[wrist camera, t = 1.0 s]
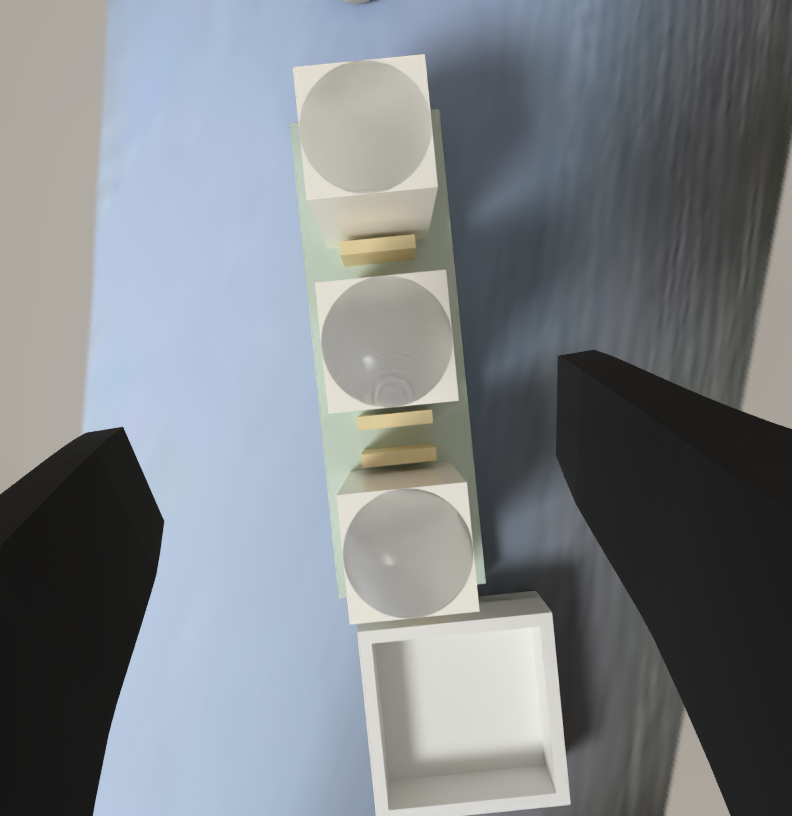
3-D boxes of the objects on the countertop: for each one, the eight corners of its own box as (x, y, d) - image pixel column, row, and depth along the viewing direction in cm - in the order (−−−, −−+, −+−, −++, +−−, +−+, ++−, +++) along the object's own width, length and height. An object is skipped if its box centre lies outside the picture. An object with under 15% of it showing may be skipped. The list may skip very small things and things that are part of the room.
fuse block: (481, 574, 26) (493, 599, 23) (341, 589, 26) (334, 616, 23) (437, 122, 26) (443, 82, 22) (294, 136, 25) (280, 98, 22)
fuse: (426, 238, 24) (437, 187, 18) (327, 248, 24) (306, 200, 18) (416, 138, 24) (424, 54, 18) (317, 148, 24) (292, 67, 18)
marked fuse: (443, 400, 25) (459, 401, 19) (343, 410, 24) (327, 414, 19) (433, 300, 24) (446, 268, 18) (333, 310, 24) (313, 282, 18)
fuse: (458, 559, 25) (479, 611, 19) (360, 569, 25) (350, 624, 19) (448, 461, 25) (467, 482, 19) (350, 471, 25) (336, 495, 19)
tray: (552, 764, 26) (570, 804, 23) (378, 781, 26) (376, 824, 23) (536, 590, 26) (552, 612, 23) (360, 608, 26) (357, 632, 23)
